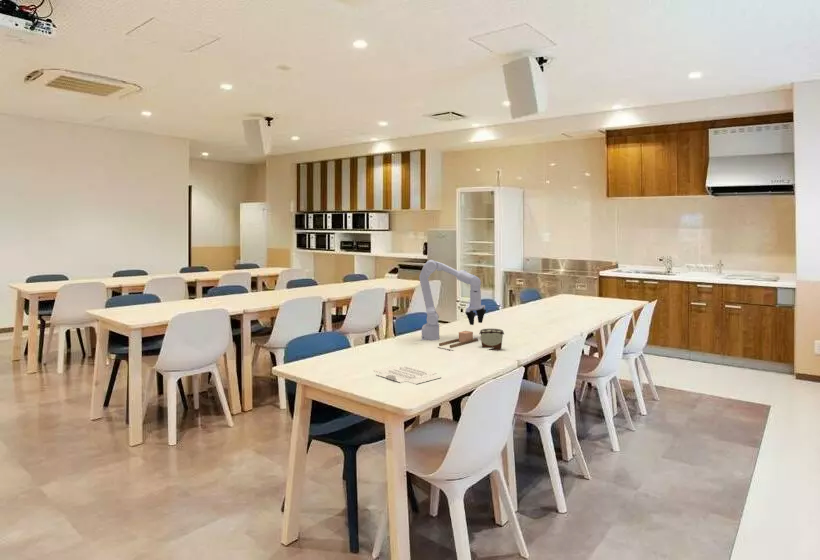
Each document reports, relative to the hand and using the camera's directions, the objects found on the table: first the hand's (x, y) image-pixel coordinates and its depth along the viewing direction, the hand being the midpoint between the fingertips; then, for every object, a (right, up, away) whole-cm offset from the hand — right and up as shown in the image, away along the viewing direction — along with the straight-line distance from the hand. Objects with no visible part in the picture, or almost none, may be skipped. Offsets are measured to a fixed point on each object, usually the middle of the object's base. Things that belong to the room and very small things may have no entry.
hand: (476, 323), depth 289 cm
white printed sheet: (-37, -17, -64) cm, 76 cm away
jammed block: (-6, -9, -6) cm, 12 cm away
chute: (-10, -11, -10) cm, 18 cm away
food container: (+6, -12, -18) cm, 22 cm away
